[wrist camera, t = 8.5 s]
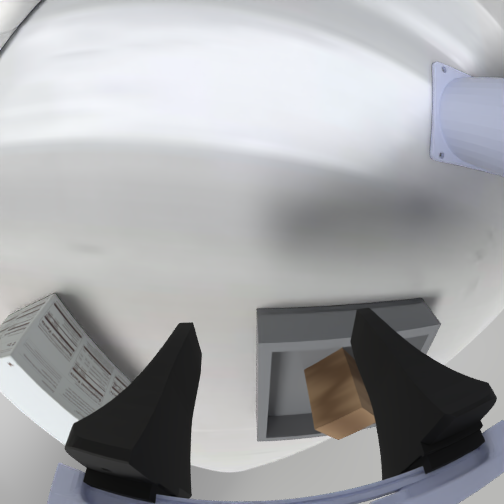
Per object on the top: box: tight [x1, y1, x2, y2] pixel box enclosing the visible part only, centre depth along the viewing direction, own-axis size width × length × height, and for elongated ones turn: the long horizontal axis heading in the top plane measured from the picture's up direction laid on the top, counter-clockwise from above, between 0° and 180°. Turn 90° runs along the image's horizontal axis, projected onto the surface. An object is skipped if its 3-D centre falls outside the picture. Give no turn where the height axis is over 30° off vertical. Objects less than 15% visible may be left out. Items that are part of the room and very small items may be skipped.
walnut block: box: [304, 348, 376, 440], centre depth 23 cm, size 4×4×7 cm
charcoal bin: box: [256, 298, 441, 441], centre depth 25 cm, size 16×18×4 cm
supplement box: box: [0, 293, 132, 445], centre depth 23 cm, size 17×13×9 cm
